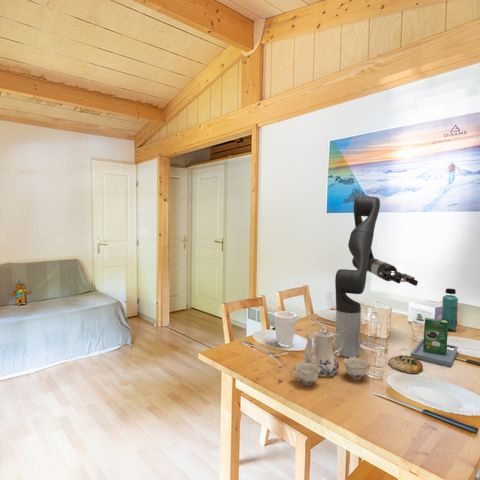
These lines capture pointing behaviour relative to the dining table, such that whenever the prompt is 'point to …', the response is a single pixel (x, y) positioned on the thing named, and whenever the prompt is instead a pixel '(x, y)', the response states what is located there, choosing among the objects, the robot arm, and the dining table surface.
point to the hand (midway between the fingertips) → (408, 282)
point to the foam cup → (285, 327)
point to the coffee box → (435, 336)
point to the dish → (435, 355)
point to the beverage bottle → (450, 309)
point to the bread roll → (406, 364)
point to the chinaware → (326, 360)
